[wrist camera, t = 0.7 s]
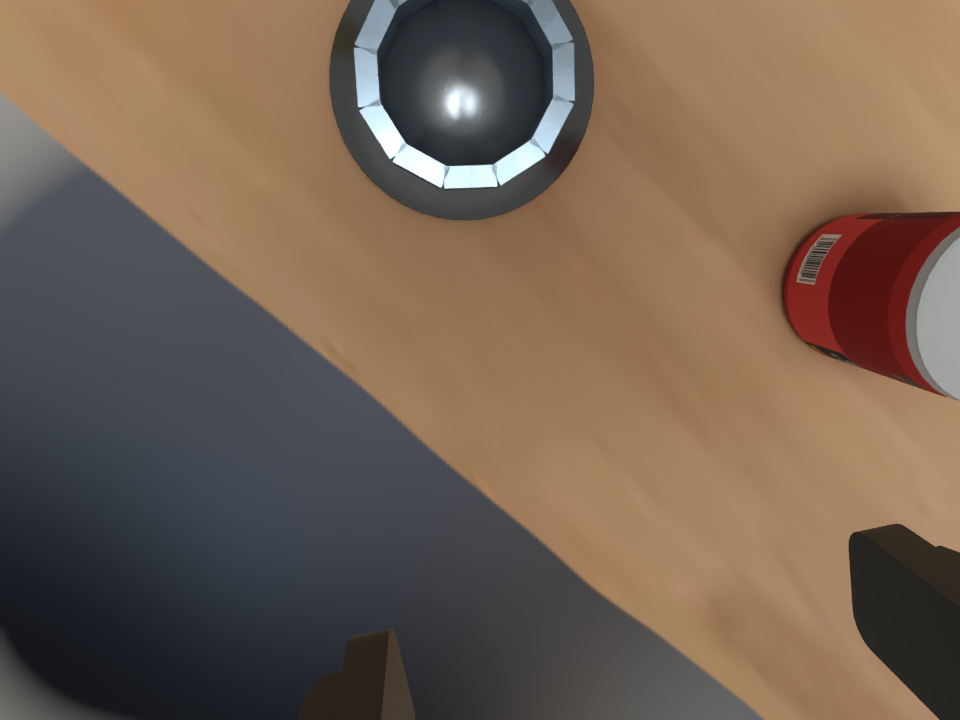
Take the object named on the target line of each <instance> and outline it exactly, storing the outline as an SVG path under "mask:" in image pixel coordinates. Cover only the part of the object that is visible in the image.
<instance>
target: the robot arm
mask: <svg viewBox="0 0 960 720" xmlns="http://www.w3.org/2000/svg"><path fill="white" fill-rule="evenodd" d="M849 560H850V575H851V590H852V605H853V614H854V619H855V622H856V625H857V628H858V630H859V632H860V635H861V636H862V638H863V640H864V642H865V643H866V645H867V646H868V647H869V649H870V650H871V651H872V652H873V653H874V654H875V655H876V656H877V657H878V658H879V659H880V660H881V661H882V662H883V663H884V664H885V665H886V666H887V667H888V668H889V669H890V670H891V671H892V672H893V673H894V674H895V675H896V676H897V677H898V678H899V679H900V680H901V681H902V682H903V683H904V684H905V685H906V686H907V687H908V688H909V689H910V690H911V691H912V692H913V693H914V694H915V695H916V696H917V697H918V698H919V699H920V700H921V701H922V702H923V703H924V704H925V705H926V706H927V707H928V708H929V709H930V710H931V711H932V712H933V713H934V714H935V715H936V716H937V717H938V718H939V719H940V720H960V553H959V552H957V551H954V550H951V549H948V548H946V547H943V546H937V547H935V546H933V545H932V544H930V543H929V542H927V541H926V540H924V539H923V538H921V537H920V536H918V535H917V534H915V533H914V532H912V531H911V530H910V529H908V528H907V527H905V526H903V525H901V524H892V525H887V526H882V527H878V528H873V529H868V530H863V531H859V532H854V533H853V534H852V535H851V536H850V539H849ZM298 720H415V714H414V709H413V704H412V700H411V696H410V692H409V688H408V684H407V680H406V676H405V672H404V667H403V663H402V660H401V655H400V651H399V647H398V643H397V640H396V637H395V633H394V631H393V630H392V629H388V630H383V631H378V632H374V633H369V634H364V635H359V636H355V637H350V638H349V639H348V642H347V646H346V652H345V657H344V662H343V668H342V671H341V672H336V673H332V674H327V675H322V676H320V678H319V679H318V681H317V682H316V683H315V685H314V686H313V688H312V689H311V690H310V692H309V693H308V694H307V696H306V697H305V698H304V700H303V702H302V706H301V710H300V714H299V718H298Z"/></svg>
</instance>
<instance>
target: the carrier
mask: <svg viewBox="0 0 960 720" xmlns="http://www.w3.org/2000/svg"><path fill="white" fill-rule="evenodd" d="M593 91H594V74H593V62H592V56H591V51H590V46H589V42H588V39H587V36H586V33H585V30H584V27H583V25H582V23H581V21H580V19H579V16H578V14H577V12H576V10H575V9H574V7H573V5H572V4H571V2H570V1H569V0H351V1H350V3H349V5H348V7H347V9H346V11H345V13H344V14H343V16H342V19H341V22H340V24H339V27H338V29H337V32H336V35H335V40H334V44H333V48H332V53H331V62H330V93H331V100H332V107H333V111H334V114H335V118H336V122H337V125H338V128H339V130H340V133H341V135H342V137H343V140H344V142H345V144H346V146H347V148H348V149H349V151H350V153H351V155H352V156H353V158H354V159H355V161H356V162H357V163H358V165H359V166H360V168H361V169H362V170H363V172H364V173H365V174H366V175H367V176H368V177H369V178H370V179H371V180H372V181H373V182H374V183H375V184H376V185H377V186H378V187H379V188H380V189H382V190H383V191H384V192H385V193H387V194H388V195H389V196H391V197H392V198H394V199H395V200H397V201H399V202H400V203H402V204H403V205H405V206H407V207H409V208H412V209H414V210H416V211H418V212H421V213H424V214H427V215H431V216H434V217H439V218H445V219H451V220H474V219H484V218H489V217H493V216H497V215H501V214H504V213H506V212H509V211H512V210H514V209H517V208H519V207H520V206H522V205H524V204H526V203H528V202H529V201H531V200H533V199H534V198H535V197H537V196H538V195H540V194H541V193H542V192H544V191H545V190H546V189H547V188H548V187H549V186H550V185H551V184H552V183H553V182H554V181H555V180H556V179H557V178H558V177H559V176H560V175H561V173H562V172H563V171H564V170H565V168H566V167H567V166H568V165H569V163H570V161H571V160H572V158H573V157H574V155H575V153H576V152H577V150H578V148H579V145H580V143H581V141H582V139H583V137H584V134H585V131H586V128H587V125H588V122H589V118H590V114H591V108H592V102H593Z"/></svg>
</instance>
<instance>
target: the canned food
mask: <svg viewBox="0 0 960 720" xmlns="http://www.w3.org/2000/svg"><path fill="white" fill-rule="evenodd" d="M784 303H785V308H786V313H787V315H788V318H789V321H790V323H791V325H792V326H793V328H794V329H795V331H796V332H797V334H798V335H799V336H800V337H801V338H802V339H803V340H804V341H805V342H806V343H807V344H808V345H809V346H810V347H811V348H813V349H814V350H816V351H817V352H819V353H821V354H823V355H826V356H829V357H832V358H835V359H838V360H840V361H843V362H846V363H849V364H852V365H855V366H858V367H861V368H863V369H866V370H869V371H872V372H875V373H878V374H881V375H883V376H886V377H889V378H892V379H895V380H898V381H901V382H904V383H906V384H909V385H912V386H915V387H918V388H921V389H924V390H926V391H929V392H932V393H935V394H938V395H941V396H945V397H949V398H952V399H955V400H958V401H960V212H926V213H881V214H857V215H849V216H846V217H842V218H839V219H836V220H834V221H833V222H831V223H829V224H827V225H825V226H823V227H822V228H820V229H818V230H817V231H816V232H814V233H813V234H812V235H811V236H809V237H808V238H807V239H806V240H805V241H804V243H803V244H802V245H801V246H800V247H799V248H798V250H797V252H796V254H795V255H794V257H793V259H792V260H791V263H790V265H789V268H788V271H787V274H786V279H785V284H784Z"/></svg>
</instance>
